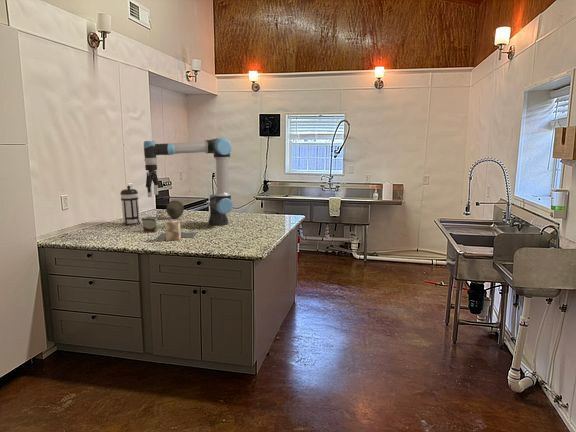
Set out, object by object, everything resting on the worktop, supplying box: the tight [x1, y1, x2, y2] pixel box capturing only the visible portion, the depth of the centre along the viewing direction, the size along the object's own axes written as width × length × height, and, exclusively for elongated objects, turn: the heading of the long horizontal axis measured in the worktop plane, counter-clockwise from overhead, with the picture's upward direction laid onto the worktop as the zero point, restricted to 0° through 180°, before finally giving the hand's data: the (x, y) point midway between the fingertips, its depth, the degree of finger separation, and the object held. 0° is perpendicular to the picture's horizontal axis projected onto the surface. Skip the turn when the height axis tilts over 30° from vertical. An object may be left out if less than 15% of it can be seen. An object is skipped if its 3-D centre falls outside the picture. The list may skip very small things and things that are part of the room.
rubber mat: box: [156, 231, 198, 240], centre depth 273 cm, size 24×14×1 cm, turn 94°
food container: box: [140, 216, 158, 233], centre depth 288 cm, size 12×6×10 cm, turn 71°
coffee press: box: [119, 185, 141, 227], centre depth 311 cm, size 17×16×30 cm
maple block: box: [164, 220, 182, 242], centre depth 261 cm, size 8×6×12 cm
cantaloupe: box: [165, 200, 185, 219], centre depth 334 cm, size 14×14×15 cm
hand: (153, 195), depth 273 cm, fingers open, 13 cm apart
